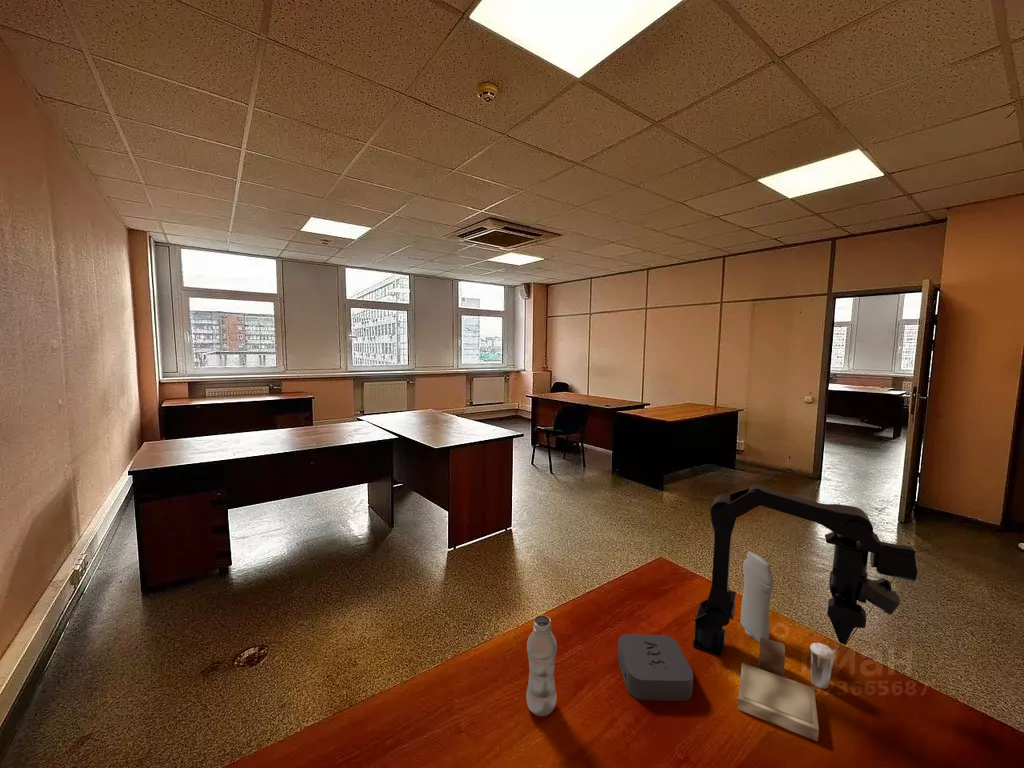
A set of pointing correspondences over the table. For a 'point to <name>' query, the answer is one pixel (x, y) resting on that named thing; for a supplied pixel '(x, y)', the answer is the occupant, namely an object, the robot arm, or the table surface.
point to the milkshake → (821, 664)
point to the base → (778, 701)
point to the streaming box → (654, 668)
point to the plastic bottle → (541, 667)
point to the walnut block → (772, 656)
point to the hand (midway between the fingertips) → (842, 631)
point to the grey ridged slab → (756, 596)
